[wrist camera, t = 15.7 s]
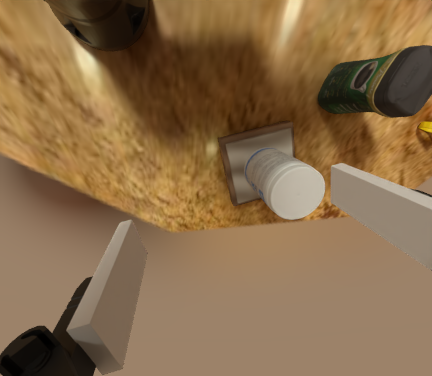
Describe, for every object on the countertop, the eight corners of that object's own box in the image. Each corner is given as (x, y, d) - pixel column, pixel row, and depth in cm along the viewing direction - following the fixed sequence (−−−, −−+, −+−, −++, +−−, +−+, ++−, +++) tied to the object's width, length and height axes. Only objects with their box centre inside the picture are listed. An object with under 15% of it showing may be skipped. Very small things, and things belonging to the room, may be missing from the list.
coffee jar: (336, 118, 49) (419, 127, 32) (310, 102, 47) (385, 103, 30) (362, 75, 46) (468, 61, 29) (335, 57, 44) (434, 29, 27)
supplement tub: (235, 179, 46) (258, 211, 33) (255, 139, 44) (288, 156, 30) (272, 193, 49) (306, 227, 36) (292, 156, 46) (338, 178, 33)
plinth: (217, 138, 46) (220, 141, 43) (286, 120, 47) (295, 122, 44) (231, 200, 53) (234, 208, 49) (291, 184, 54) (299, 190, 50)
